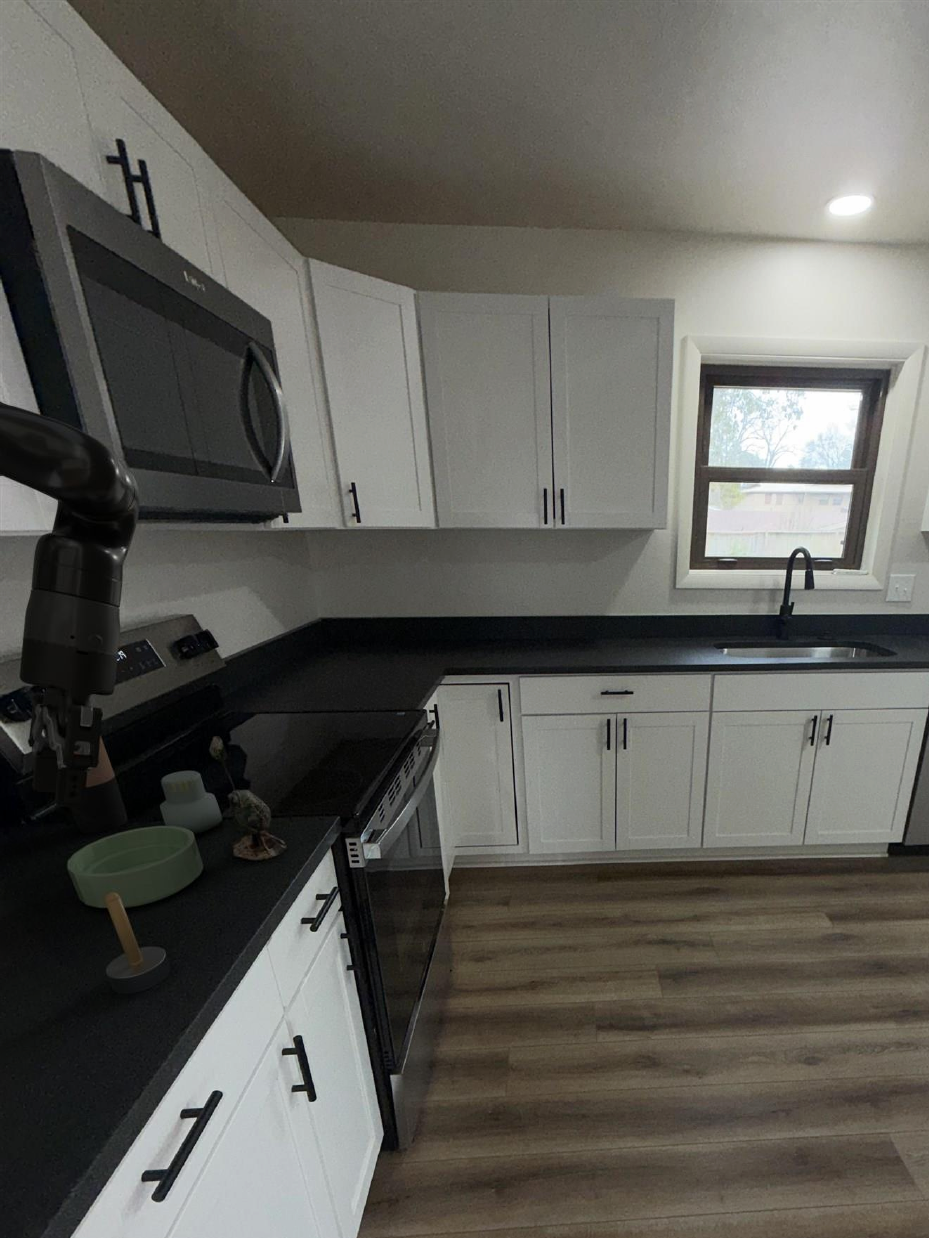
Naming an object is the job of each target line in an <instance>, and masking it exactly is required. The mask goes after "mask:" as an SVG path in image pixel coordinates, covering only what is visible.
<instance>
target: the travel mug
mask: <svg viewBox="0 0 929 1238" xmlns="http://www.w3.org/2000/svg"><path fill="white" fill-rule="evenodd" d="M44 729H45V726H44ZM74 754H80V753H79V752H74ZM115 775H116V774H115V771H114V770H113V767H112V764H111V761H110V758H109V755H108V752H107V749H106V747H105V743H104V742H103V738H102V735H100V747H99V764H98V766H97V768H93V767H92V768H91V770H90V771H87V782H86V792H85V801H84V805H83V806H82V807H78V808H77V807H69V808H70V810H71V813H72V816H73V818H74V820H75V822H76V824H77V827H78V829H79V831H80V832H82V833H84V834H97V833H99V834H100V833H104V832H108V831H112V830H115V829H118V828H120V827H123V826H124V825H125V824H126V823H127V822H128V821H129V820H128V815H127V811H126V807H125V805H124V802H123V798H122V795H121V791H120V788H119V784H118V782H117V781H118V780H117V779H116V778H117V777H116V776H115Z"/></svg>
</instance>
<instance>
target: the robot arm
mask: <svg viewBox="0 0 929 1238" xmlns="http://www.w3.org/2000/svg"><path fill="white" fill-rule="evenodd" d="M0 477H4V478H7V479H9V480H12V481H14V482H16V483H19V484H20V485H23V486H24V487H25V486H26V487H28V488H30V489H33V490H35V491H37V492H39V493H41V494H43V495H46V496H47V497H49V498H51V499H54V500H56V501H57V505H56V506H57V507H56V512H55V516H54V521H53V525H52V530H51V532H48V533H45V534H42V535H40V537H39V539H38V540H37V542H36V545H35V550H34V554H33V565H32V576H31V589H30V594H29V598H28V602H27V605H26V609H25V615H24V624H23V633H22V634H23V635H22V645H21V658H20V665H19V666H20V667H19V669H20V670H19V680H20V681H21V682H22V683H24V684H26V685H32V686H35V687H41V688H45V690H44V692H43V693H41V692H34V694H33V695H32V707H31V708H32V709H31V719H30V727H29V735H28V739H27V744H28V747H29V748H31V752H32V755H33V756H34V761H33V762H34V764H33V773H32V783H31V786H32V789H33V790H35V791H36V792H38V793H55V795H54V803H55V805H57V806H58V807H60V808H70V807H77V808H78V807H82V806H83V805H84V801H85V792H86V782H87V771H90V770H91V768H92V767H93V768H97V766H98V764H99V747H100V736H102V735H101V733H102V722H103V716H104V712H103V709H102V708H101V707H96V706H91V696H92V695H98V696H105V697H106V696H111V695H113V694H114V692H115V686H116V677H117V667H118V659H119V658H118V657H119V647H120V639H121V618H120V615H121V614H120V612H121V611H120V610H121V609H120V607H121V602H122V600H121V599H122V591H123V581H124V565H125V564H124V563H125V561H126V558H127V556H128V554H129V550H130V547H131V544H132V541H133V538H134V535H135V531H136V527H137V524H138V519H139V514H140V491H139V486H138V483H137V481H136V478H135V476H134V475H133V473H132V472H131V471H130V469H129V468H128V467H127V466H126V465H125V464H124V463H123V462H122V461H121V460H120V459H119V457H117V456H116V454H114V452H113V451H111V449H110V448H109V447H108V446H106V445H105V443H103V442H101V440H99V439H97V437H96V438H95V437H93V436H92V435H90V434H88V433H86V432H85V431H82V430H80V429H78V428H76V427H74V426H72V425H70V424H67V423H65V422H63V421H60V420H57V419H55V418H51V417H49V416H46V415H43V414H40V413H37V412H34V411H31V410H27V409H25V408H22V407H18V406H15V405H11V404H7V403H4V402H3V401H1V400H0ZM44 726H45V729H44ZM74 752H79V753H80V754H74Z"/></svg>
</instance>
